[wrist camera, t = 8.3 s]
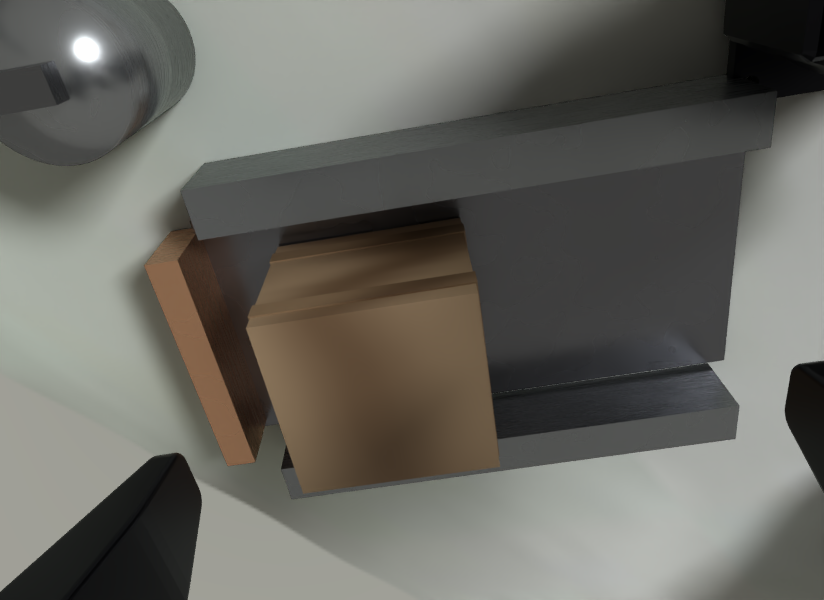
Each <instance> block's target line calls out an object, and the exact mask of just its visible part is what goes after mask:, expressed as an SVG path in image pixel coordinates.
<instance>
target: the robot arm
mask: <svg viewBox="0 0 824 600" xmlns="http://www.w3.org/2000/svg"><path fill="white" fill-rule="evenodd" d="M724 34H725V35H726V36H727V37H728V38H729V39H730V42H729V55H728V67H727V77H729V78H732V79H736V78H745V79H746V78H747V77H749V76H752V81H753V82H755V83H758V84H761V85H763V86H766V87H768V88H771V89H774V90H776V91H777V98H779V97H785V96H791V95H797V94H803V93H809V92H815V91H821V90H824V0H726V5H725V18H724ZM785 417H786V421H787V424H788V426H789V428H790V430H791V432H792V434H793V436H794V438H795V440H796V441H797V443H798V445H799V447H800V449H801V451H802V453H803V455H804V457H805V459H806V460H807V462H808V464H809V466H810V468H811V470H812V472H813V474H814V476H815V477H816V479H817V481H818V483H819V485H820V487H821V489H822V491H823V493H824V361H816V362H809V363H802V364H798V365H796V366H795V367H794V368H793V369H792V371H791V375H790V381H789V387H788V393H787V399H786V405H785ZM201 506H202V499H201V493H200V490H199V487H198V485H197V483H196V481H195V479H194V476H193V474H192V472H191V470H190V468H189V466H188V463H187V461H186V459H185V458H184V456H183V455H181V454H179V453H171V454H164V455H158V456H154V457H152V458H151V459H149V460H148V461H147V462H146V463H145V464H144V465H143V466H141V467H140V468H139V469H138V470H137V471H136V472H135V473H134V474H132V475H131V476H130V477H129V478H128V479H127V480H126V481H125V482H123V483H122V484H121V485H120V486H119V487H118V488H117V489H116V490H114V491H113V492H112V493H111V494H110V495H109V496H108V497H106V498H105V499H104V500H103V501H102V502H101V503H100V504H99V505H97V506H96V507H95V508H94V509H93V510H92V511H91V512H90V513H88V514H87V515H86V516H85V517H84V518H83V519H82V520H81V521H79V522H78V523H77V524H76V525H75V526H74V527H73V528H72V529H70V530H69V531H68V532H67V533H66V534H65V535H64V536H63V537H61V538H60V539H59V540H58V541H57V542H56V543H55V544H54V545H53V546H51V547H50V548H49V549H48V550H47V551H46V552H45V553H44V554H42V555H41V556H40V557H39V558H38V559H37V560H36V561H35V562H33V563H32V564H31V565H30V566H29V567H28V568H27V569H25V570H24V571H23V572H22V573H21V574H20V575H19V576H18V577H16V578H15V579H14V580H13V581H12V582H11V583H10V584H9V585H7V586H6V587H5V588H4V589H3V590H2V591H1V592H0V600H188V594H189V588H190V582H191V575H192V568H193V561H194V555H195V548H196V541H197V534H198V527H199V520H200V513H201Z"/></svg>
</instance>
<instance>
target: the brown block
mask: <svg viewBox="0 0 824 600" xmlns="http://www.w3.org/2000/svg"><path fill="white" fill-rule="evenodd" d="M248 320H249V322H248V324H247V327H246V330H247V333H248V336H249V338H250V341H251V344H252V347H253V350H254V353H255V356H256V359H257V362H258V364H259V367H260V370H261V373H262V376H263V379H264V382H265V385H266V388H267V390H268V393H269V396H270V399H271V402H272V405H273V408H274V411H275V413H276V416H277V419H278V422H279V425H280V428H281V431H282V434H283V437H284V439H285V442H286V445H287V448H288V451H289V454H290V457H291V460H292V463H293V465H294V468H295V471H296V474H297V477H298V480H299V483H300V486H301V489H302V491H303V494H304V493H312V492H319V491H326V490H334V489H341V488H348V487H356V486H363V485H370V484H378V483H385V482H392V481H400V480H407V479H414V478H422V477H429V476H436V475H444V474H451V473H458V472H466V471H473V470H480V469H488V468H495V467H500V462H499V448H498V440H497V432H496V424H495V416H494V408H493V400H492V392H491V385H490V377H489V369H488V361H487V353H486V345H485V337H484V329H483V321H482V313H481V305H480V297H479V289H478V281H477V277H476V273H475V271H473V270H472V265H471V261H470V257H469V253H468V249H467V241H466V234H465V228H464V224H463V223H461V219H460V218H455V219H449V220H443V221H436V222H430V223H424V224H418V225H411V226H405V227H399V228H393V229H386V230H380V231H374V232H368V233H361V234H355V235H349V236H343V237H337V238H330V239H324V240H318V241H312V242H305V243H299V244H293V245H287V246H280V247H277V250H276V252H275V253H274V254H272V257H271V259H270V268H269V270H268V273H267V276H266V278H265V281H264V283H263V286H262V288H261V291H260V294H259V296H258V299H257V301H256V304H255V305H252V307H251V309H250V312H249V314H248Z"/></svg>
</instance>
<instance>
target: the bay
mask: <svg viewBox="0 0 824 600" xmlns="http://www.w3.org/2000/svg"><path fill="white" fill-rule="evenodd" d="M194 71H195V49H194V44H193V40H192V37H191V34H190V31H189V29H188V27H187V25H186V23H185V21H184V20H183V18H182V16H181V15H180V13H179V12H178V11H177V10H176V8H175V7H174V6H173V5H172V4H171V3H170V2H169V1H168V0H0V141H1V142H2V143H3V144H5V145H6V146H8V147H9V148H11V149H12V150H14V151H16V152H18V153H20V154H22V155H24V156H26V157H28V158H31V159H33V160H36V161H39V162H43V163H47V164H52V165H59V166H72V165H81V164H85V163H89V162H91V161H94V160H96V159H99V158H100V157H102V156H104V155H105V154H107V153H108V152H110V151H111V150H112V149H114V148H115V147H117V146H118V145H119V144H121V143H122V142H123V141H125V140H126V139H128V138H129V137H130V136H132V135H133V134H135V133H136V132H137V131H139V130H140V129H141V128H143V127H144V126H146V125H147V124H148V123H150V122H151V121H153V120H154V119H155V118H157V117H158V116H159V115H161V114H162V113H164V112H165V111H166V110H168V109H169V108H171V107H172V106H173V105H175V104H176V103H177V102H178V101H179V100H180V99H181V98H182V97H183V96H184V95H185V93H186V92H187V90H188V89H189V87H190V84H191V82H192V79H193V76H194ZM776 98H777V91H776V90H774V89H771V88H768V87H766V86H763V85H761V84H758V83H755V82H753V81H750V80H747V79H745V78H736V79H732V78H729V77H727V75H722V76H716V77H710V78H704V79H698V80H692V81H686V82H681V83H675V84H669V85H663V86H657V87H651V88H645V89H639V90H633V91H627V92H622V93H616V94H610V95H604V96H598V97H592V98H586V99H580V100H574V101H569V102H563V103H557V104H551V105H545V106H539V107H533V108H527V109H521V110H515V111H510V112H504V113H498V114H492V115H486V116H480V117H474V118H468V119H462V120H456V121H451V122H445V123H439V124H433V125H427V126H421V127H415V128H409V129H403V130H398V131H392V132H386V133H380V134H374V135H368V136H362V137H356V138H350V139H344V140H339V141H333V142H327V143H321V144H315V145H309V146H303V147H297V148H291V149H285V150H280V151H274V152H268V153H262V154H256V155H250V156H244V157H238V158H232V159H227V160H221V161H215V162H209V163H204V164H203V166H202V167H201V168H200V169H199V170H198V171H197V172H196V174H195V175H194V176H193V177H192V178H191V179H190V180H189V182H188V183H187V184H186V185H185V186H184V187H183V188H182V190H181V194H182V196H183V199H184V202H185V205H186V208H187V210H188V213H189V216H190V219H191V221H190V224H191V226H192V228H189V229H183V230H177V231H171V232H170V233H169V235H168V236H167V237H166V238H165V240H164V241H163V242H162V243H161V245H160V246H159V247H158V249H157V250H156V251H155V252H154V254H153V255H152V256H151V257H150V259H149V260H148V261H147V263H146V264H145V265H144V266H145V269H146V271H147V274H148V276H149V278H150V281H151V283H152V286H153V288H154V290H155V293H156V295H157V298H158V300H159V302H160V305H161V307H162V310H163V312H164V314H165V317H166V319H167V322H168V324H169V326H170V329H171V331H172V334H173V336H174V338H175V341H176V343H177V346H178V348H179V350H180V353H181V355H182V358H183V360H184V362H185V365H186V367H187V370H188V372H189V374H190V377H191V379H192V382H193V384H194V386H195V389H196V391H197V394H198V396H199V398H200V401H201V403H202V406H203V408H204V410H205V413H206V415H207V418H208V420H209V422H210V425H211V427H212V430H213V432H214V434H215V437H216V439H217V442H218V444H219V446H220V449H221V451H222V454H223V456H224V458H225V461H226V463H227V466H232V465H239V464H246V463H253V462H255V461H256V457H257V454H258V450H259V446H260V443H261V439H262V435H263V432H264V428H265V426H267V425H274V424H279V422H278V419H277V416H276V413H275V411H274V408H273V405H272V402H271V399H270V396H269V393H268V390H267V388H266V385H265V382H264V379H263V376H262V373H261V370H260V367H259V364H258V362H257V359H256V356H255V353H254V350H253V347H252V344H251V341H250V338H249V336H248V333H247V330H246V327H247V324H248V322H249V320H248V314H249V312H250V309H251V307H252V305H255V304H256V301H257V299H258V296H259V294H260V291H261V288H262V286H263V283H264V281H265V278H266V276H267V273H268V270H269V268H270V259H271V257H272V254H274V253H275V252H276V250H277V247H280V246H287V245H293V244H299V243H305V242H312V241H318V240H324V239H330V238H337V237H343V236H349V235H355V234H361V233H368V232H374V231H380V230H386V229H393V228H399V227H405V226H411V225H418V224H424V223H430V222H436V221H443V220H449V219H455V218H460V219H461V223H463V224H464V228H465V234H466V241H467V249H468V253H469V257H470V261H471V265H472V270H473V271H475V273H476V277H477V281H478V289H479V297H480V305H481V313H482V321H483V329H484V337H485V345H486V353H487V361H488V369H489V377H490V385H491V392H492V393H496V394H492V400H493V408H494V416H495V424H496V432H497V440H498V448H499V462H500V467H495V468H488V469H480V470H473V471H466V472H458V473H451V474H444V475H436V476H429V477H422V478H414V479H407V480H400V481H392V482H385V483H378V484H370V485H363V486H356V487H348V488H341V489H334V490H326V491H319V492H312V493H304V494H303V491H302V489H301V486H300V483H299V480H298V477H297V474H296V471H295V468H294V465H293V463H292V460H291V457H290V454H289V451H288V448H287V445H286V449H285V454H284V458H283V463H282V468H281V471H282V473H283V476H284V479H285V482H286V484H287V487H288V490H289V493H290V496H291V498H292V499H297V498H304V497H311V496H319V495H326V494H333V493H341V492H348V491H355V490H363V489H370V488H378V487H385V486H392V485H400V484H407V483H414V482H422V481H429V480H436V479H444V478H451V477H458V476H466V475H473V474H481V473H488V472H495V471H503V470H510V469H517V468H525V467H532V466H539V465H547V464H554V463H561V462H569V461H576V460H584V459H591V458H598V457H606V456H613V455H620V454H628V453H635V452H642V451H650V450H657V449H664V448H672V447H679V446H686V445H694V444H701V443H709V442H716V441H723V440H731V439H735V438H736V430H737V422H738V413H739V405H738V403H737V402H736V401H735V399H734V398H733V397H732V395H731V394H730V393H729V391H728V390H727V389H726V387H725V386H724V384H723V383H722V382H721V380H720V379H719V378H718V376H717V375H716V374H715V372H714V371H713V370H712V368H711V367H710V366H709V364H708V363H707V362H714V361H721V360H724V355H725V345H726V336H727V326H728V316H729V306H730V296H731V286H732V276H733V266H734V256H735V246H736V236H737V226H738V216H739V206H740V196H741V186H742V177H743V167H744V157H745V152H746V151H752V150H758V149H765V148H771V140H772V131H773V123H774V115H775V107H776ZM700 363H706V364H700ZM693 364H699V365H693ZM686 365H692V366H686ZM679 366H685V367H679ZM672 367H678V368H672ZM665 368H671V369H665ZM658 369H664V370H658ZM651 370H657V371H651ZM644 371H650V372H644ZM637 372H643V373H637ZM630 373H636V374H630ZM623 374H629V375H623ZM616 375H622V376H616ZM609 376H615V377H609ZM602 377H608V378H602ZM595 378H601V379H595ZM588 379H594V380H588ZM581 380H587V381H581ZM574 381H580V382H574ZM567 382H573V383H567ZM560 383H566V384H560ZM553 384H559V385H553ZM546 385H552V386H546ZM539 386H545V387H539ZM532 387H538V388H532ZM525 388H531V389H525ZM519 389H524V390H519ZM512 390H517V391H512ZM505 391H510V392H505ZM498 392H503V393H498Z"/></svg>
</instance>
